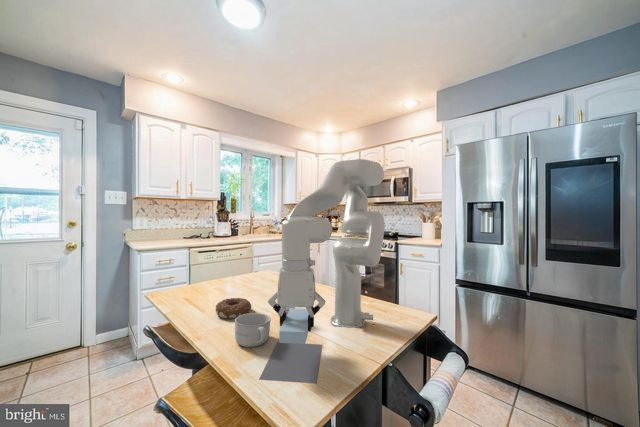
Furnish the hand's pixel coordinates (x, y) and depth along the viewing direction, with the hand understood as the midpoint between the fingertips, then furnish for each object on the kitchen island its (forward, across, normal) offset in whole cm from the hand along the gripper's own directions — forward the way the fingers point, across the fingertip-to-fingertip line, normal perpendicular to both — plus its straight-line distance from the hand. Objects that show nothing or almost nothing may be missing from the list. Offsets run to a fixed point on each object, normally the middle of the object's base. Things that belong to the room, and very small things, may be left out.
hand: (297, 328), depth 73 cm
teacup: (+9, +15, -7) cm, 19 cm away
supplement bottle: (+10, +8, -23) cm, 26 cm away
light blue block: (0, 0, 0) cm, 0 cm away
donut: (+10, +31, -30) cm, 44 cm away
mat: (+9, +1, +1) cm, 9 cm away
